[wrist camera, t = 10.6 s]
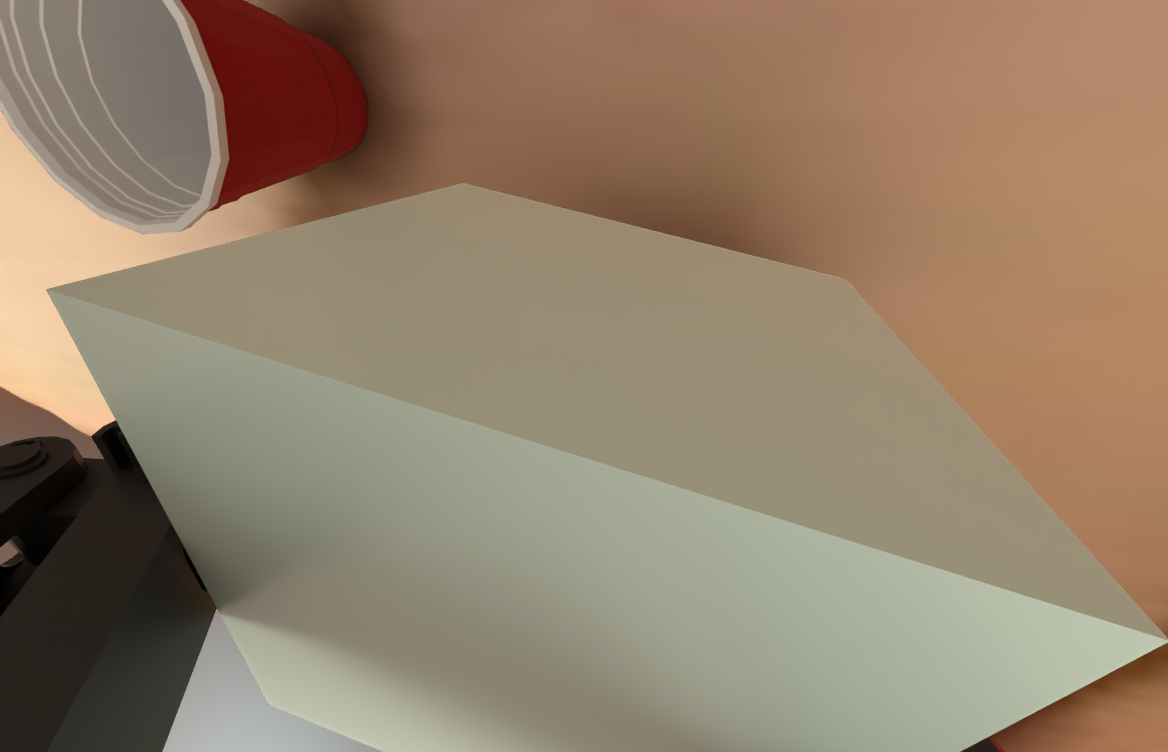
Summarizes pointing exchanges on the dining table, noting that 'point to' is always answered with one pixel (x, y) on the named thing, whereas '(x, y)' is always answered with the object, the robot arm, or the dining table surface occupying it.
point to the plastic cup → (171, 102)
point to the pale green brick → (586, 491)
